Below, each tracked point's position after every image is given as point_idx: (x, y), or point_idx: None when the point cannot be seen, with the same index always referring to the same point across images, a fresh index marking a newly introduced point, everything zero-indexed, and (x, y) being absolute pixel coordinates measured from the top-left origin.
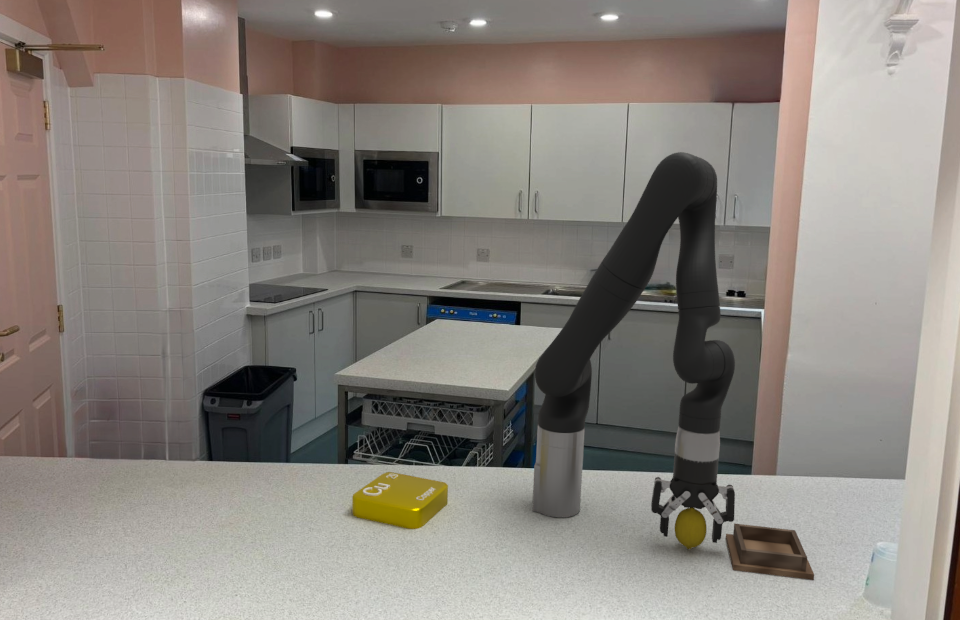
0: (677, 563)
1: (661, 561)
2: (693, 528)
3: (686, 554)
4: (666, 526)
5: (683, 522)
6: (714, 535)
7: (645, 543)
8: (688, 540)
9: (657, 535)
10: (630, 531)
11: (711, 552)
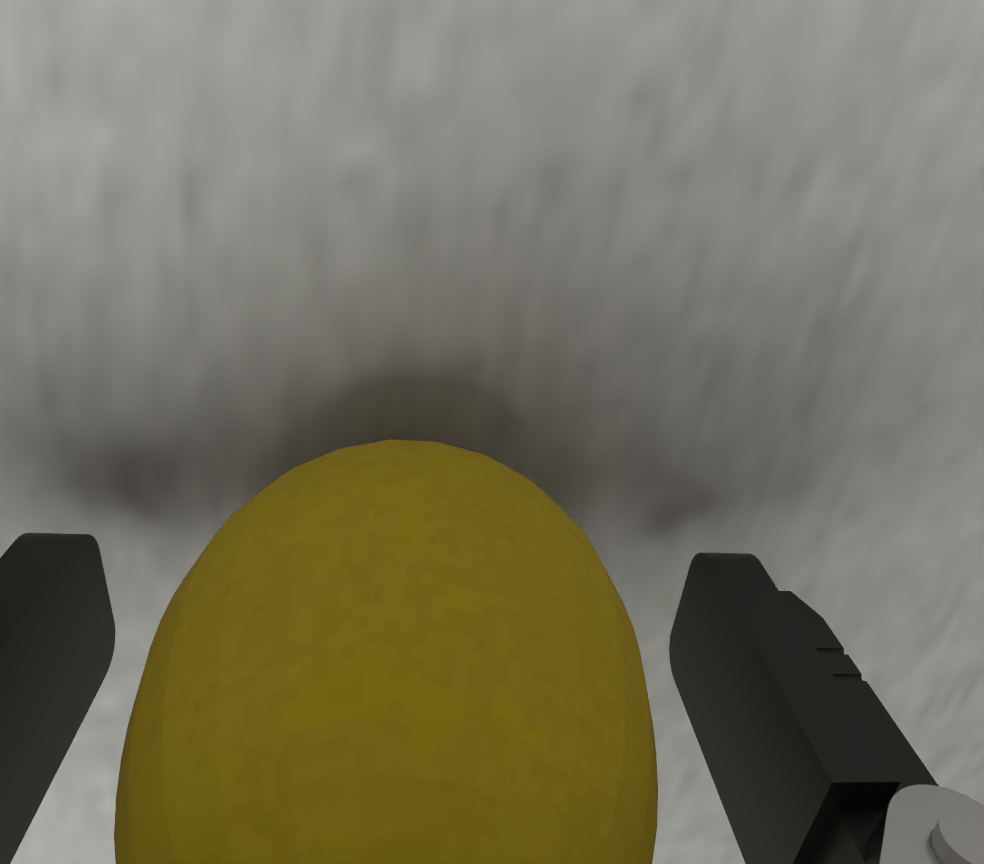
0: (604, 121)
1: (803, 141)
2: (376, 598)
3: (450, 383)
4: (789, 656)
5: (582, 711)
6: (17, 602)
7: (842, 526)
8: (450, 456)
9: (674, 682)
10: (899, 695)
11: (157, 482)
